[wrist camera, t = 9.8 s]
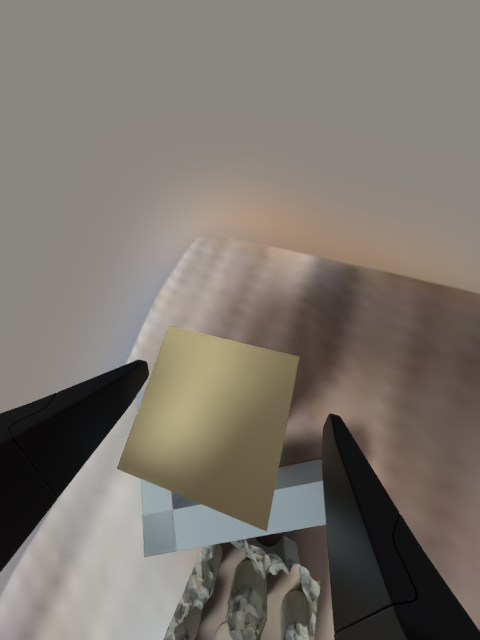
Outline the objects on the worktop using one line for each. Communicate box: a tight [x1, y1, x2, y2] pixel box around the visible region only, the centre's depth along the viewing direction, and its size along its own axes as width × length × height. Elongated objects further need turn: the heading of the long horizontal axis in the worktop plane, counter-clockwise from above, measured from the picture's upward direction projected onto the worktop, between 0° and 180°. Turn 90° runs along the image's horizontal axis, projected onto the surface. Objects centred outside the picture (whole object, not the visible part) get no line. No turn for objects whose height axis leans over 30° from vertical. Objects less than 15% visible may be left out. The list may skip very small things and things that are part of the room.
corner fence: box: [137, 389, 326, 557], centre depth 15 cm, size 10×12×4 cm
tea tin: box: [117, 326, 300, 532], centre depth 12 cm, size 5×5×11 cm
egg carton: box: [164, 536, 321, 640], centre depth 12 cm, size 11×8×4 cm
